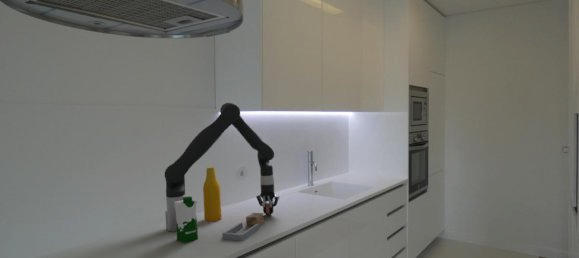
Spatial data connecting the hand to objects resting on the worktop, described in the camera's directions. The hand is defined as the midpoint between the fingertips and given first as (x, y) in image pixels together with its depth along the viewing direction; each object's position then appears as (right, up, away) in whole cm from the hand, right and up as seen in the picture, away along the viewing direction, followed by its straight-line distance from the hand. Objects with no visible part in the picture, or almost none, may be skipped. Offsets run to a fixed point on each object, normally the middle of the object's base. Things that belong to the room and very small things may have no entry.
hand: (268, 213), depth 200 cm
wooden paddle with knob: (-3, -2, -9) cm, 10 cm away
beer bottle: (-30, -3, -4) cm, 31 cm away
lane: (-11, -3, -29) cm, 31 cm away
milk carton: (-36, -4, -35) cm, 50 cm away
